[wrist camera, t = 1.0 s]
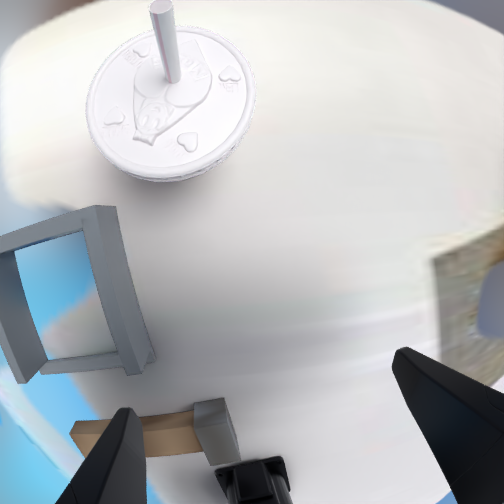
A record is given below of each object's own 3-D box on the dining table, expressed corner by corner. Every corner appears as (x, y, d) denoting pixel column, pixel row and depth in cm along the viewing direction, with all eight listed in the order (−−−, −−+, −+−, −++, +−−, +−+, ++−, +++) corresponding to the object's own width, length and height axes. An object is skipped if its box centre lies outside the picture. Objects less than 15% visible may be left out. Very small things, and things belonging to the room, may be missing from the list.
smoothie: (247, 123, 19) (323, -15, 5) (211, 210, 19) (227, 201, 5) (160, 93, 18) (113, -59, 4) (122, 177, 18) (-14, 121, 4)
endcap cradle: (155, 358, 20) (147, 387, 16) (44, 371, 18) (23, 395, 15) (115, 206, 18) (94, 204, 14) (3, 241, 17) (-28, 247, 13)
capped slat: (223, 397, 21) (227, 422, 18) (236, 435, 22) (240, 460, 19) (72, 414, 19) (60, 436, 16) (93, 449, 20) (85, 471, 17)
